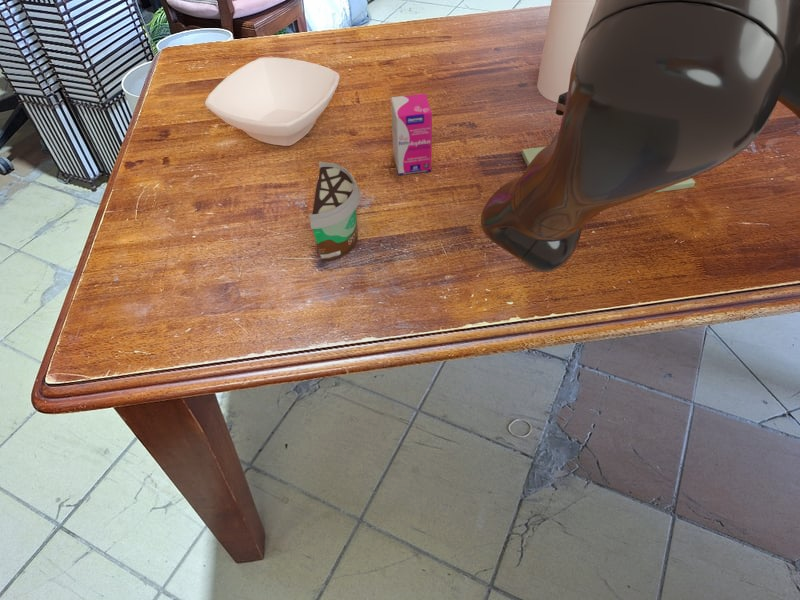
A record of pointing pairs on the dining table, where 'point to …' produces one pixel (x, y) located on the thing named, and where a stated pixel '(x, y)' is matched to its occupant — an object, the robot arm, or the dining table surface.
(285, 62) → the bowl
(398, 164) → the supplement box
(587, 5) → the canister
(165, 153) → the dining table surface
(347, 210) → the food container
